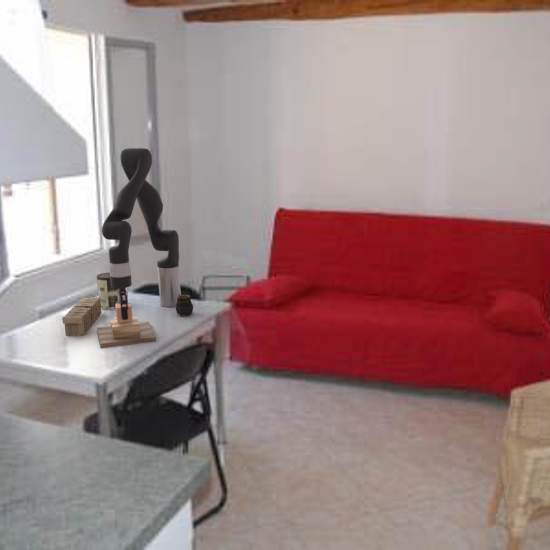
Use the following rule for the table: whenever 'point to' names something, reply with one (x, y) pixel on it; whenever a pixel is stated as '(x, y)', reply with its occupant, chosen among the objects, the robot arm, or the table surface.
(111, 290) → the coffee can
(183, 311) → the mate gourd
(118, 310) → the terracotta cube
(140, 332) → the walnut base
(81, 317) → the brown long block
